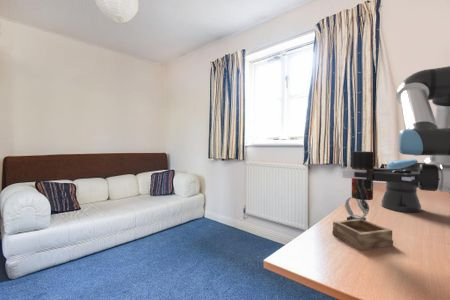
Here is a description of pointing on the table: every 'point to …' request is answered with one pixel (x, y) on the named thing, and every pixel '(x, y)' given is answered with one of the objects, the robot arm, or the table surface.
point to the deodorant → (362, 186)
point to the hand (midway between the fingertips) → (344, 172)
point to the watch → (362, 205)
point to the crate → (362, 234)
